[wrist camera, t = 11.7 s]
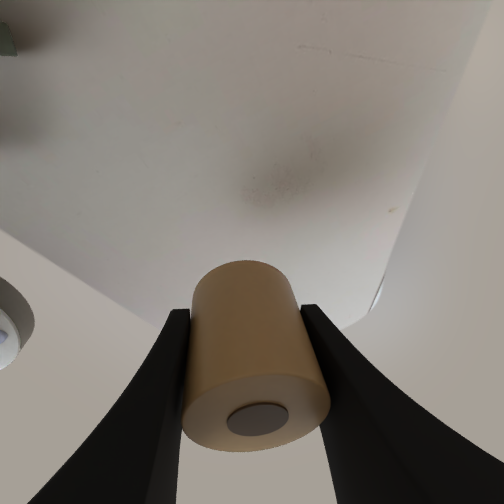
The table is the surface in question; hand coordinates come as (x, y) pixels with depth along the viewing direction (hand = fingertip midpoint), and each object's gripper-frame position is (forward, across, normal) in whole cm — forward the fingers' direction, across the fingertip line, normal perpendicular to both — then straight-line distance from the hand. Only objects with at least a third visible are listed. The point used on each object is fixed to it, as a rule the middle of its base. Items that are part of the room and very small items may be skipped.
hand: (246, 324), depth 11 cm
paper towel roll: (+1, 0, 0) cm, 1 cm away
